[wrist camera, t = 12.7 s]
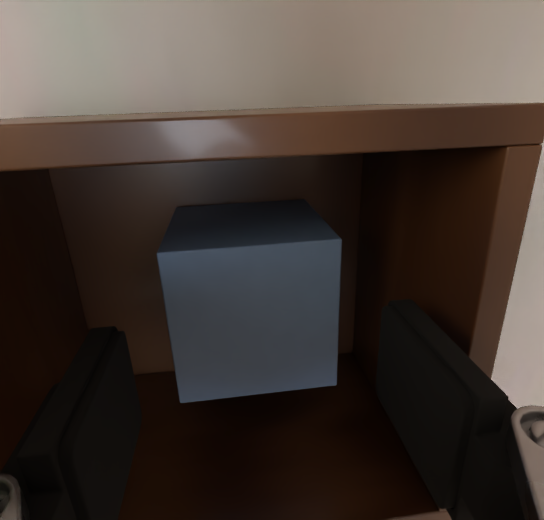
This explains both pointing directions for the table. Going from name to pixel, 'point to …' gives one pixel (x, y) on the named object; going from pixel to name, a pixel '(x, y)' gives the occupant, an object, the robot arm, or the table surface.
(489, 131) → the chest
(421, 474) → the robot arm
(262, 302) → the block
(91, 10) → the table surface
